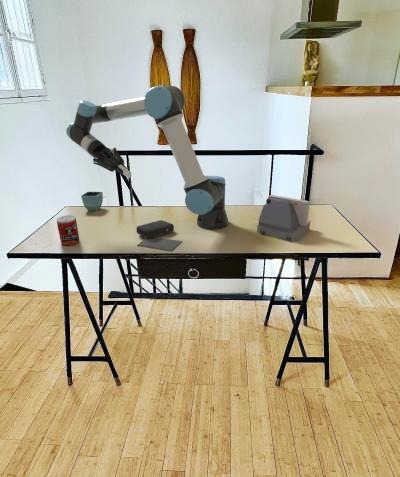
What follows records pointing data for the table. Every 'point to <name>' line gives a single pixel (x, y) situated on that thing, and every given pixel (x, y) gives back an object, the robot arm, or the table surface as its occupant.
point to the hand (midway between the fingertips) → (129, 175)
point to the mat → (160, 243)
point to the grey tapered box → (284, 218)
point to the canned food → (68, 230)
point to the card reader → (155, 228)
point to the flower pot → (92, 200)
